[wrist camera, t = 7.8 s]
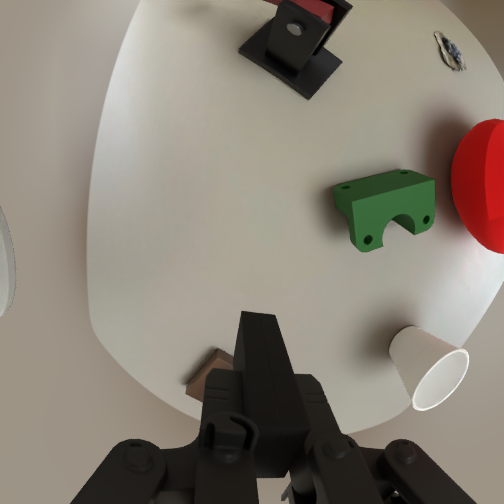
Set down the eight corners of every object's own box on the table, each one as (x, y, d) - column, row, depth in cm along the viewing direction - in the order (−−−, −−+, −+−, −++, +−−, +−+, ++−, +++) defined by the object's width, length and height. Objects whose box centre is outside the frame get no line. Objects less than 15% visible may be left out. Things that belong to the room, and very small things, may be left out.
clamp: (339, 219, 35) (340, 256, 28) (332, 176, 32) (333, 203, 25) (423, 211, 31) (445, 246, 24) (422, 168, 28) (448, 193, 21)
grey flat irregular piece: (449, 74, 26) (456, 71, 25) (424, 31, 25) (430, 27, 23) (468, 70, 26) (475, 67, 24) (445, 30, 24) (452, 27, 22)
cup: (429, 349, 37) (466, 384, 26) (381, 377, 37) (412, 421, 27) (426, 302, 35) (472, 335, 24) (372, 333, 35) (411, 378, 24)
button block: (187, 383, 35) (183, 402, 31) (218, 347, 34) (216, 366, 30) (260, 418, 37) (262, 436, 33) (293, 387, 36) (299, 406, 32)
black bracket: (238, 52, 25) (242, -6, 14) (273, 20, 24) (290, -38, 13) (308, 100, 27) (347, 59, 16) (339, 65, 26) (383, 21, 15)
